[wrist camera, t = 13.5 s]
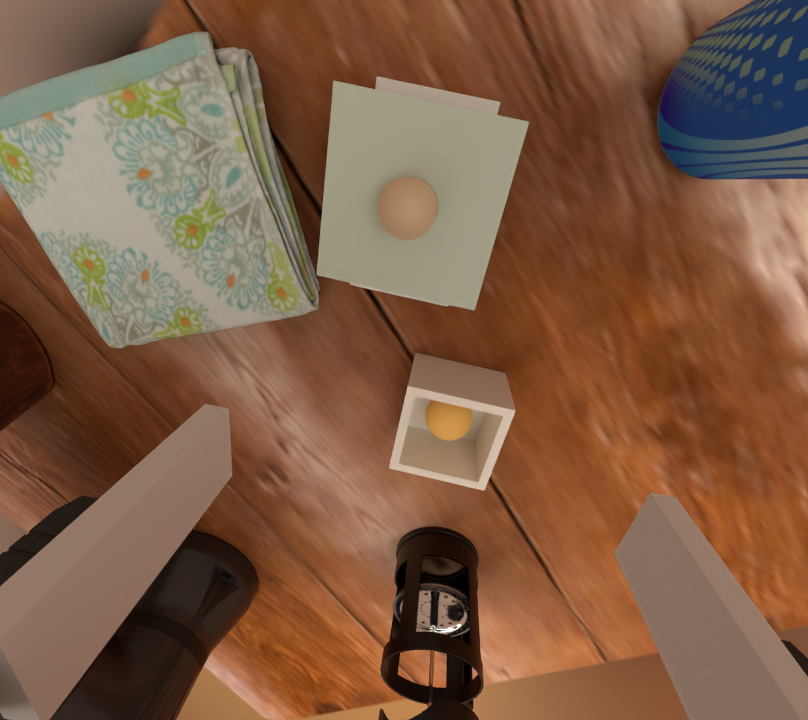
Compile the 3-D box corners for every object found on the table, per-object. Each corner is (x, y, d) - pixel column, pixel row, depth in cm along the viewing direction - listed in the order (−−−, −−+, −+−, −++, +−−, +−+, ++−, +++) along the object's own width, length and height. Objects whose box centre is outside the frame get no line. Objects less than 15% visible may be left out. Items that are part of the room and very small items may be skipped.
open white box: (398, 425, 36) (388, 468, 31) (415, 352, 33) (407, 385, 27) (479, 444, 36) (484, 490, 31) (505, 372, 32) (515, 410, 27)
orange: (422, 417, 35) (419, 444, 31) (432, 380, 33) (429, 404, 29) (465, 426, 35) (466, 455, 31) (476, 390, 33) (479, 415, 29)
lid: (329, 266, 26) (304, 283, 21) (347, 92, 21) (320, 69, 17) (472, 298, 25) (476, 321, 21) (520, 128, 21) (537, 115, 17)
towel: (336, 303, 32) (317, 323, 28) (130, 338, 36) (83, 360, 32) (262, 40, 25) (219, 9, 20) (15, 121, 29) (-68, 110, 24)
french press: (378, 536, 43) (308, 861, 23) (450, 512, 40) (446, 860, 20) (429, 598, 47) (409, 926, 26) (498, 580, 44) (538, 933, 23)
